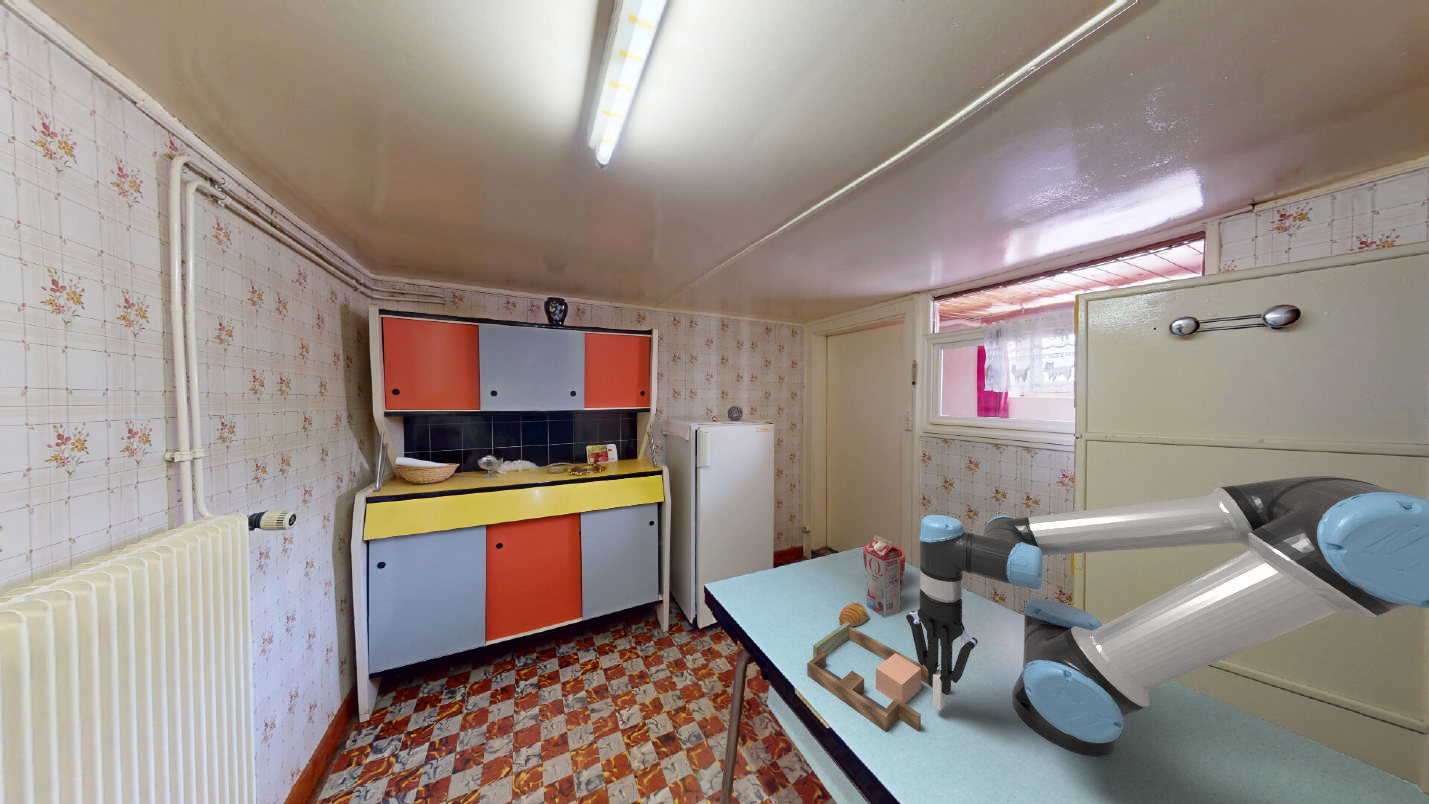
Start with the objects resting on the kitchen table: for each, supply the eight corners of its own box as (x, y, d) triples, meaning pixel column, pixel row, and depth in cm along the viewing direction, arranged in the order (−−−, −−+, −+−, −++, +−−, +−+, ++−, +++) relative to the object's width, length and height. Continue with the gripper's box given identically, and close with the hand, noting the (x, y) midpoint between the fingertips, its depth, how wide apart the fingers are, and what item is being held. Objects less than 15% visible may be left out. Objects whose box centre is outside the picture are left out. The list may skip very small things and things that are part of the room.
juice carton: (883, 617, 111) (884, 544, 110) (866, 605, 117) (866, 535, 117) (900, 612, 114) (900, 540, 113) (882, 600, 120) (882, 532, 119)
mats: (893, 714, 79) (893, 713, 79) (883, 725, 76) (883, 724, 76) (823, 667, 92) (823, 666, 92) (813, 676, 89) (813, 674, 89)
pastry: (854, 633, 105) (854, 620, 105) (832, 622, 110) (832, 609, 110) (870, 619, 111) (870, 606, 111) (848, 609, 116) (848, 597, 116)
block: (921, 690, 85) (921, 668, 85) (901, 707, 80) (901, 684, 80) (895, 673, 90) (895, 653, 90) (875, 689, 85) (875, 667, 85)
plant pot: (858, 574, 137) (858, 541, 137) (896, 575, 136) (896, 542, 135) (869, 594, 124) (869, 558, 124) (911, 595, 123) (912, 559, 122)
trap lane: (948, 692, 84) (948, 674, 84) (906, 746, 72) (906, 726, 71) (847, 635, 104) (847, 621, 103) (800, 670, 91) (800, 654, 91)
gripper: (984, 600, 75) (982, 715, 76) (915, 575, 85) (914, 677, 86) (970, 614, 70) (968, 737, 71) (899, 586, 80) (898, 694, 81)
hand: (939, 704), depth 79 cm, fingers closed
